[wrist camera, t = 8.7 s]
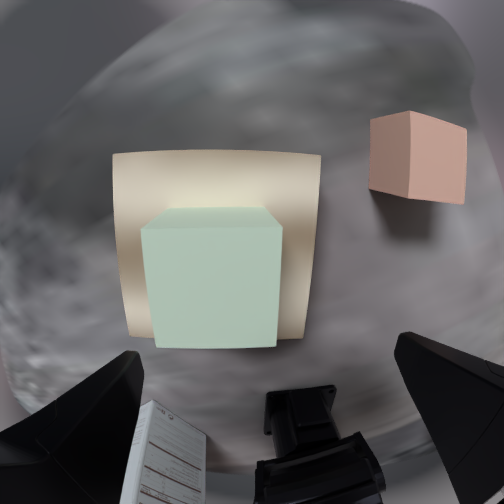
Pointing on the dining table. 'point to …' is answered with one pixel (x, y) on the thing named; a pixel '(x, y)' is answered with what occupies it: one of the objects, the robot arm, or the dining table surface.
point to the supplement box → (165, 460)
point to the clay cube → (418, 157)
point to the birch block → (218, 195)
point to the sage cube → (213, 277)
